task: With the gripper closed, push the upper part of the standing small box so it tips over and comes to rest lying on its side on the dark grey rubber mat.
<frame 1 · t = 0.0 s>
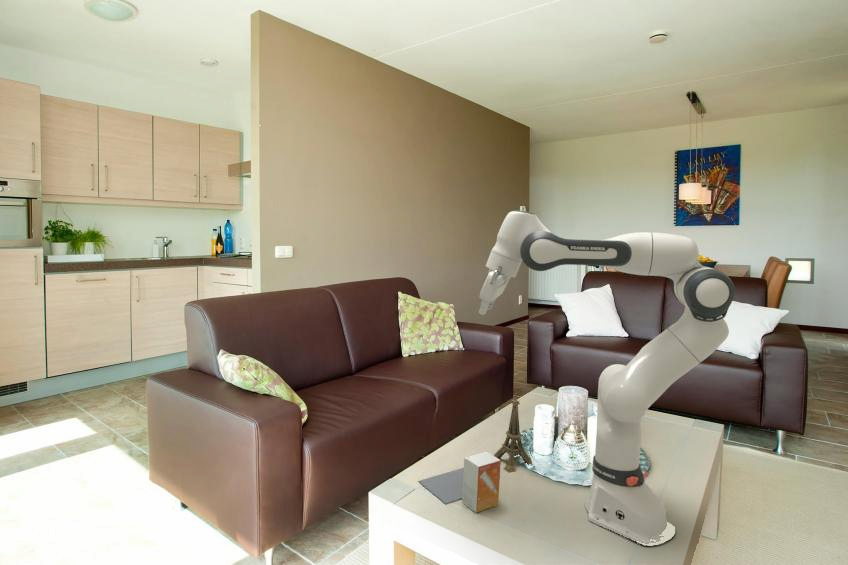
hand: (484, 311, 138), 52 cm above the table, tool tilted 20°, fingers open, 8 cm apart
small box: (480, 504, 134), on the table
slate mat: (458, 484, 144), on the table
eiffel tower: (512, 463, 159), on the table
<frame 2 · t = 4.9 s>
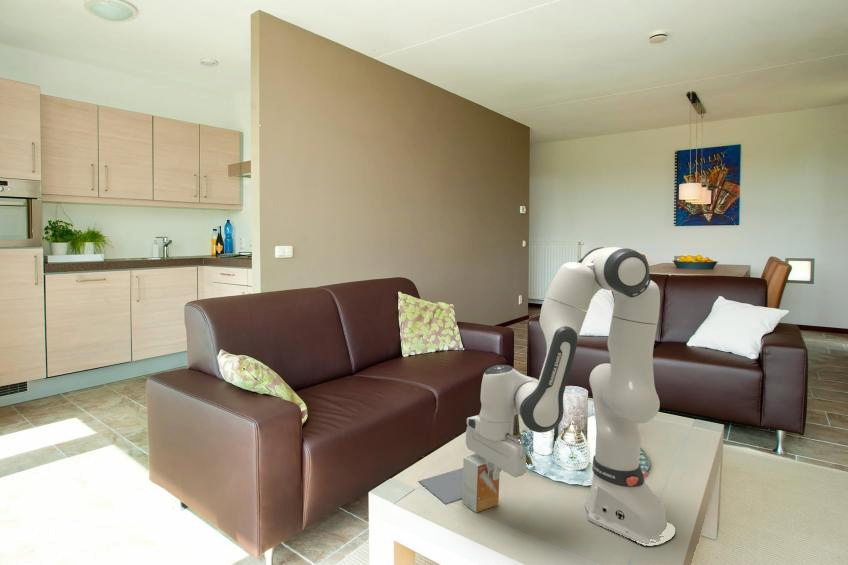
hand: (493, 477, 129), 10 cm above the table, tool pointing down, fingers closed
small box: (480, 504, 134), on the table, touching gripper
everything else where it was.
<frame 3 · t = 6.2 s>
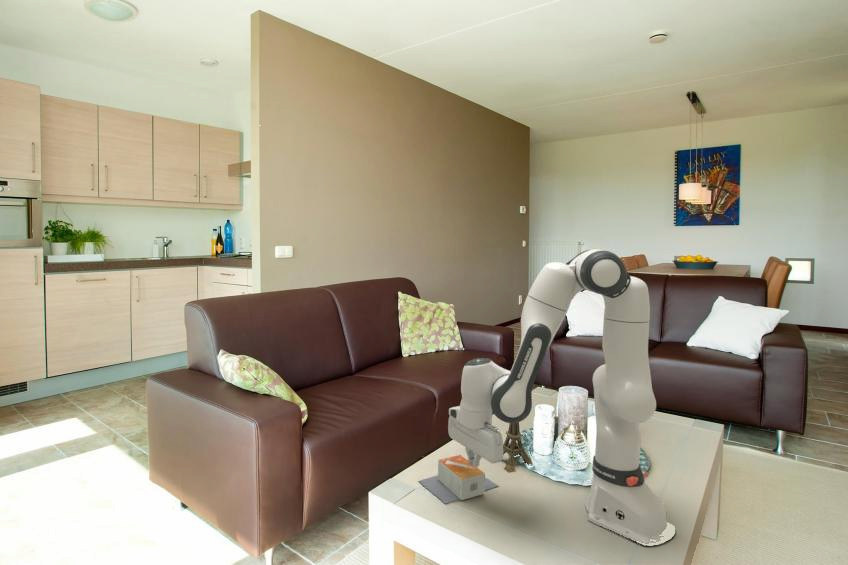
hand: (473, 464, 136), 10 cm above the table, tool pointing down, fingers closed
small box: (473, 487, 136), point 3 cm above the table, touching slate mat
everything else where it was.
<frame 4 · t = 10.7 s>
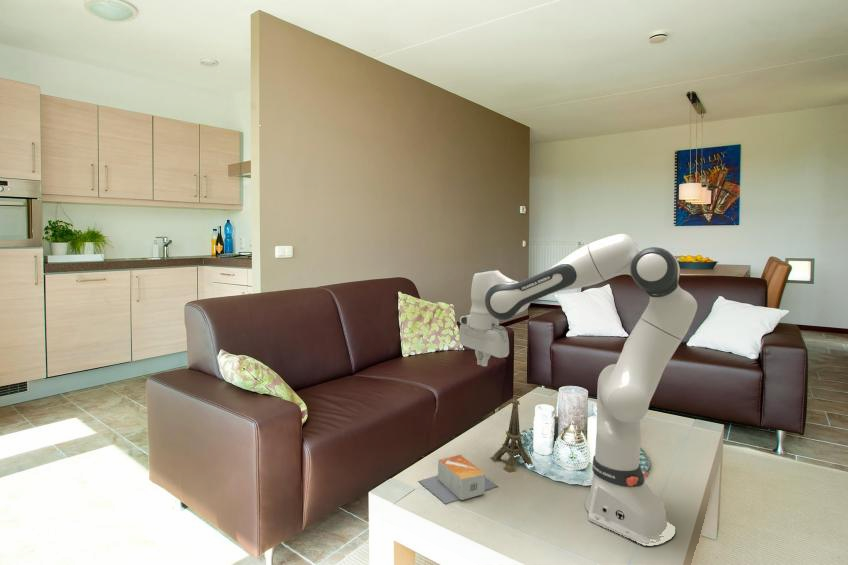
hand: (482, 365, 152), 33 cm above the table, tool pointing down, fingers closed
nothing on the table moved.
at the end: small box tilted 90°; small box touching slate mat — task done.
